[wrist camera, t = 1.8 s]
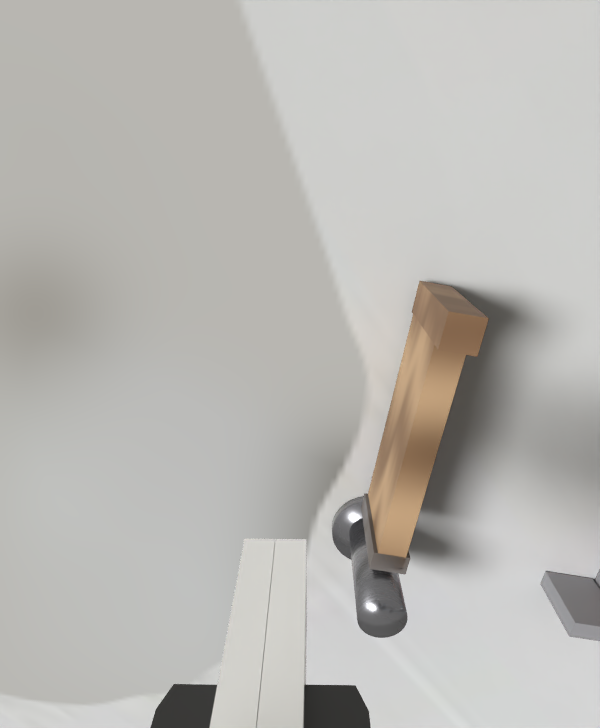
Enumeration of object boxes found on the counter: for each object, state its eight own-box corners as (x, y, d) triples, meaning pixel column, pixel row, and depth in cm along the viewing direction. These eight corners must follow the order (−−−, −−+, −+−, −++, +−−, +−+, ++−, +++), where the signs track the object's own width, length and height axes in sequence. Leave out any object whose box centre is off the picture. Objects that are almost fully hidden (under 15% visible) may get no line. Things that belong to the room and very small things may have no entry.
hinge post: (412, 502, 32) (438, 590, 25) (395, 561, 33) (415, 658, 26) (339, 490, 31) (346, 576, 25) (325, 550, 33) (329, 645, 26)
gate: (391, 512, 31) (408, 589, 25) (361, 507, 31) (371, 583, 25) (453, 286, 26) (491, 318, 21) (417, 280, 26) (446, 310, 21)
